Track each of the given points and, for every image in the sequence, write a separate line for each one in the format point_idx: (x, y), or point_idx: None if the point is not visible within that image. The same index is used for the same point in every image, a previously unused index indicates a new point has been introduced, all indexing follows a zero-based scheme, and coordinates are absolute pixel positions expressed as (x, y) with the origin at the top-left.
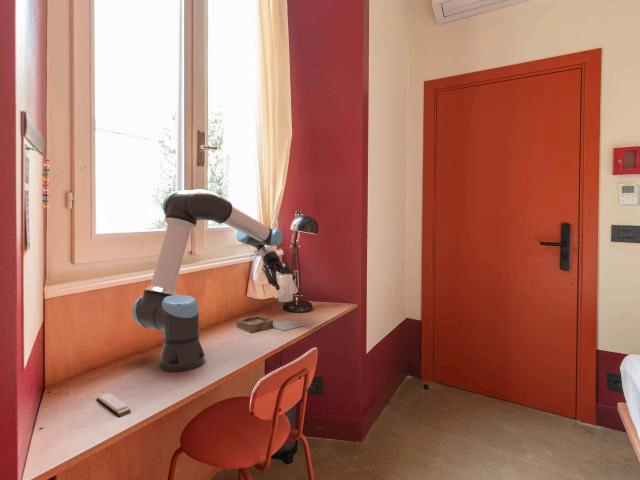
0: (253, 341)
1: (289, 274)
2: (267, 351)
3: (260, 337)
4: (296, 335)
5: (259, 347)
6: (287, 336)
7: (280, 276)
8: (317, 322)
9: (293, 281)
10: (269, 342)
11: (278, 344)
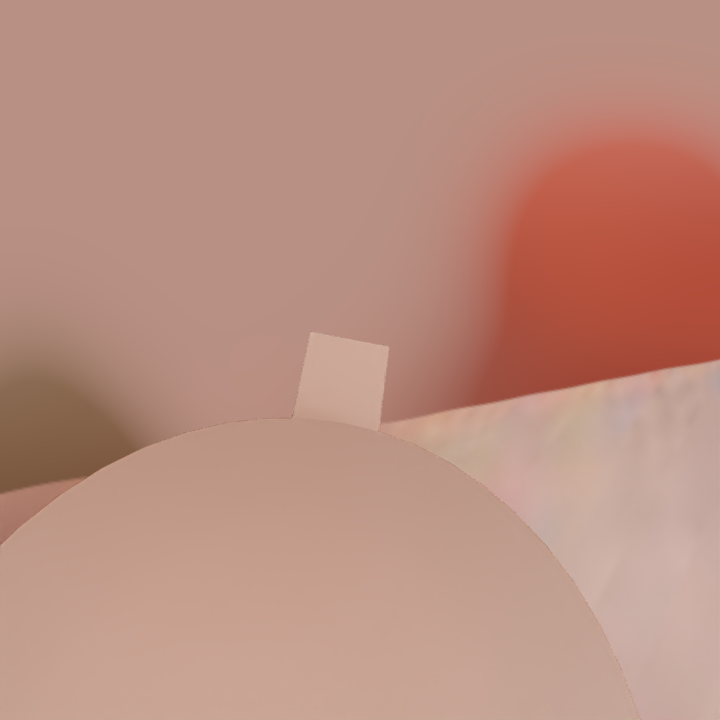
0: (705, 575)
1: (47, 684)
2: (696, 374)
3: (627, 608)
4: (408, 427)
5: (711, 452)
6: (466, 461)
7: (623, 697)
8: (9, 521)
9: (326, 347)
10: (623, 469)
11: (596, 401)
